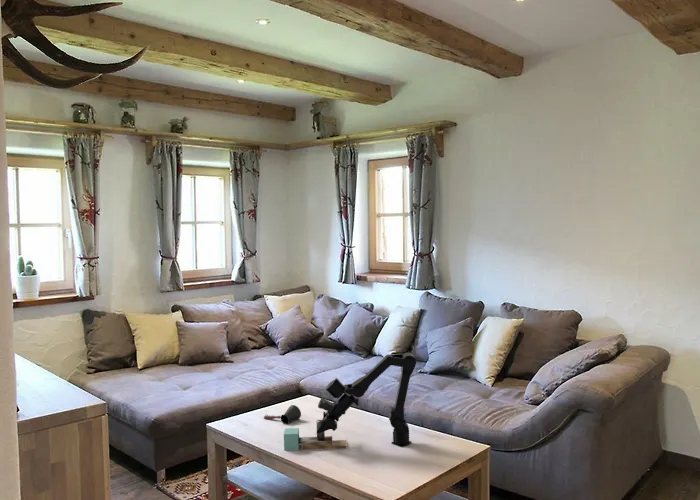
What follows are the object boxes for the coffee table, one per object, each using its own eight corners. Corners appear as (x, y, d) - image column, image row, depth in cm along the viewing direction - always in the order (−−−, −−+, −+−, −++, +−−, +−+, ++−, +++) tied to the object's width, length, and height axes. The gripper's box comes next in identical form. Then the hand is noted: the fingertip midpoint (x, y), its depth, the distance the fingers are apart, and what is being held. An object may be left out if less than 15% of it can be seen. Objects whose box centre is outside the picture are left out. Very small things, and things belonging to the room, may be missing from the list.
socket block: (299, 443, 253) (298, 427, 253) (298, 449, 246) (297, 433, 246) (285, 444, 253) (285, 428, 252) (284, 450, 246) (283, 434, 245)
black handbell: (303, 419, 283) (292, 427, 276) (275, 417, 294) (264, 425, 287) (299, 404, 283) (288, 412, 276) (272, 403, 293) (261, 411, 286)
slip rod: (324, 441, 251) (324, 419, 251) (324, 444, 248) (324, 422, 247) (291, 442, 251) (290, 420, 251) (290, 445, 248) (289, 423, 247)
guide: (346, 442, 253) (345, 435, 253) (346, 448, 246) (346, 441, 246) (302, 443, 253) (302, 436, 253) (301, 449, 246) (301, 442, 246)
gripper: (329, 386, 258) (305, 411, 258) (328, 399, 239) (302, 426, 240) (347, 403, 259) (323, 428, 259) (347, 417, 240) (322, 444, 240)
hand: (317, 431), depth 249 cm, fingers closed on slip rod, 3 cm apart
